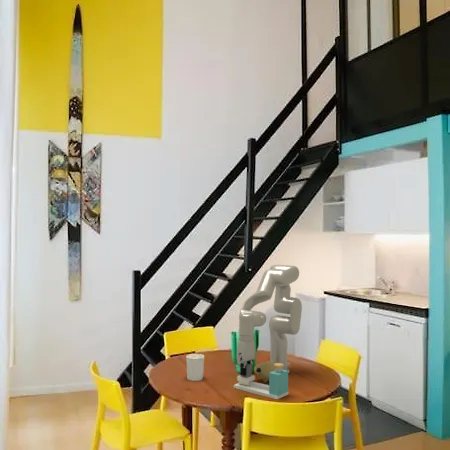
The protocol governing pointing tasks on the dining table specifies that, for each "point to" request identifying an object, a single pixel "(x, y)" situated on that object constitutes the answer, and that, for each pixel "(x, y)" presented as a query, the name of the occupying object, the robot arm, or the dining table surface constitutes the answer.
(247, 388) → the rail board
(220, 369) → the dining table surface
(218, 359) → the dining table surface
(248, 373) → the carriage
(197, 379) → the candle holder
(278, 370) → the gauge plunger
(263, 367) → the toy pig
